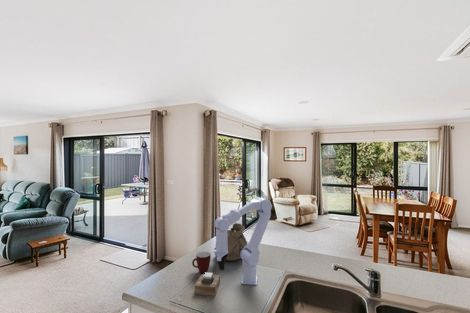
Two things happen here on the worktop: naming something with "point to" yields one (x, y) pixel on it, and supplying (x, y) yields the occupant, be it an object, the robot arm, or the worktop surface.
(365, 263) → the worktop surface
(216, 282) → the socket block
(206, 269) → the mug
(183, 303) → the worktop surface
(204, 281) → the plug
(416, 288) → the worktop surface
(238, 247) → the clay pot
